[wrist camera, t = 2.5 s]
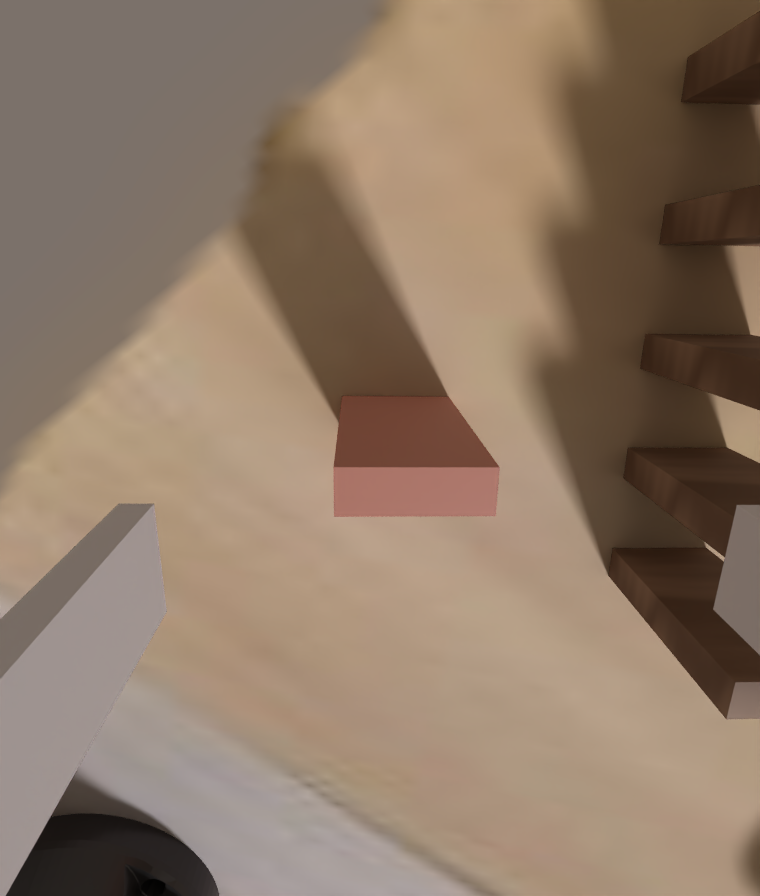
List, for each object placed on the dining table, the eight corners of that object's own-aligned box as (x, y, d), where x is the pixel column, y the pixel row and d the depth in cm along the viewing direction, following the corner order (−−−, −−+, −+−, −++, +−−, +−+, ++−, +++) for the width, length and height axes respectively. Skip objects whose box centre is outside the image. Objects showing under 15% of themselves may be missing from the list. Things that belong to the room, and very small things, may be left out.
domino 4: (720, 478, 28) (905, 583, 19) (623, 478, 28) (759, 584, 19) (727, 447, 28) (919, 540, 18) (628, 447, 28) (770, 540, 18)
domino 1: (446, 429, 27) (495, 516, 18) (342, 428, 27) (334, 516, 17) (448, 396, 27) (499, 467, 17) (342, 396, 26) (333, 467, 17)
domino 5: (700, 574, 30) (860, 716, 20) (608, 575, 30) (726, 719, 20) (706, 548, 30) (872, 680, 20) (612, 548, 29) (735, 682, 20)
